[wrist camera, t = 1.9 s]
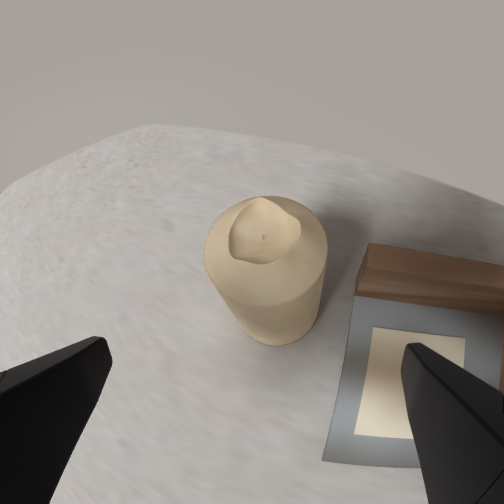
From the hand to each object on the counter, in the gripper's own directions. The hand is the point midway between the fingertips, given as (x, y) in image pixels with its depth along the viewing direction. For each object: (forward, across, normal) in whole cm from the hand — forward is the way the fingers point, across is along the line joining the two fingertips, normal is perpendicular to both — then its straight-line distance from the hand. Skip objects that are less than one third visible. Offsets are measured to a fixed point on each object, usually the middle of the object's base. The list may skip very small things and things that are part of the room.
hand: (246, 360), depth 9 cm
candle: (+12, 0, +5) cm, 13 cm away
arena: (+8, -11, +8) cm, 16 cm away
